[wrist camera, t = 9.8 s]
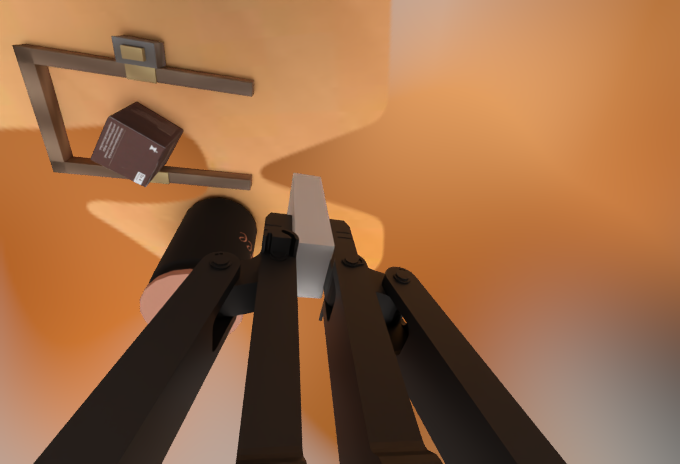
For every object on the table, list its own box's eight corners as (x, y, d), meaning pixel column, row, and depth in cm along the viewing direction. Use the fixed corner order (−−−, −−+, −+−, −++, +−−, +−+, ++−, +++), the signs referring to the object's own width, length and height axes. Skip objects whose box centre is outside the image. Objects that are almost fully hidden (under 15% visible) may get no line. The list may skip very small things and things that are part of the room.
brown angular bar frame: (17, 16, 33) (-12, 15, 30) (254, 58, 38) (251, 61, 35) (63, 166, 42) (44, 178, 38) (251, 184, 46) (248, 196, 43)
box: (136, 99, 39) (108, 113, 33) (185, 130, 41) (167, 148, 35) (118, 139, 41) (88, 159, 35) (165, 165, 43) (144, 188, 37)
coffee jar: (246, 259, 54) (229, 350, 39) (179, 241, 50) (132, 333, 35) (266, 208, 49) (256, 288, 34) (194, 183, 45) (147, 262, 30)
